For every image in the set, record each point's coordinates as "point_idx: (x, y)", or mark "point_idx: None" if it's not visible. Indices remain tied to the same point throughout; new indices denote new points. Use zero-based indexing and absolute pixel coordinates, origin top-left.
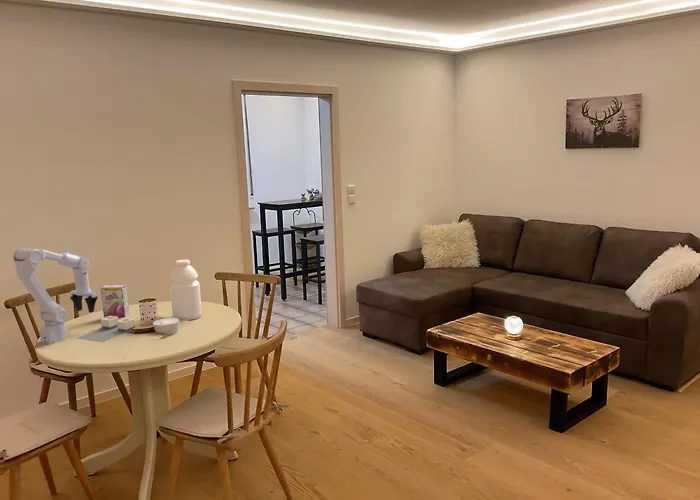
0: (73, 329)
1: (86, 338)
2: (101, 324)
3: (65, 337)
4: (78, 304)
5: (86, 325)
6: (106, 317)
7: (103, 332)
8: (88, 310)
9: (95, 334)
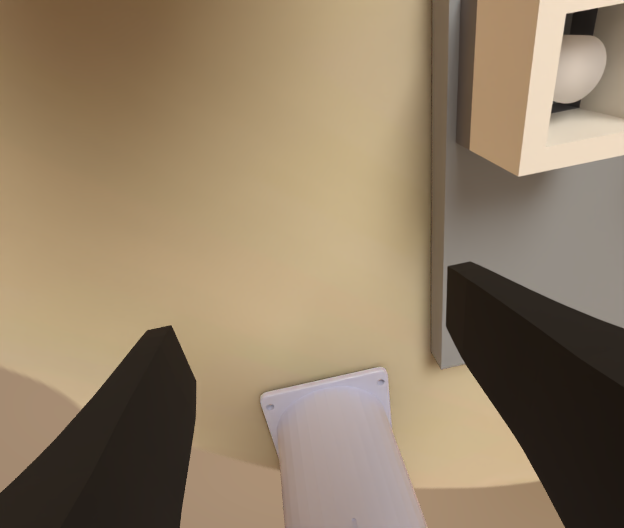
0: (102, 246)
1: None
2: (482, 155)
3: (382, 415)
4: (161, 473)
5: (53, 93)
6: (549, 81)
7: (560, 201)
8: (463, 360)
9: (526, 265)
